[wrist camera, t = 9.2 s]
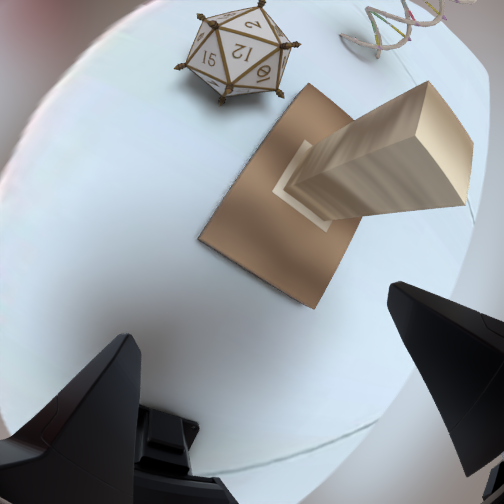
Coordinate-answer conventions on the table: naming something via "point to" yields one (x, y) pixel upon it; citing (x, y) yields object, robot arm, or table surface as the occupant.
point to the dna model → (409, 22)
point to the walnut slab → (283, 208)
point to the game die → (240, 52)
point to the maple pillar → (388, 161)
